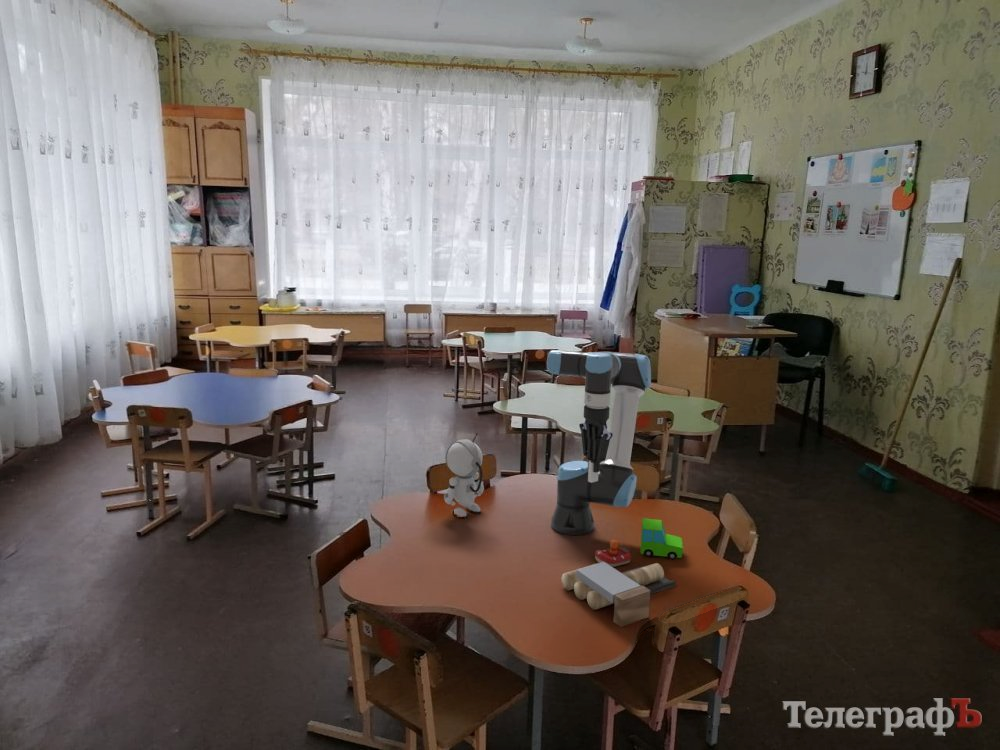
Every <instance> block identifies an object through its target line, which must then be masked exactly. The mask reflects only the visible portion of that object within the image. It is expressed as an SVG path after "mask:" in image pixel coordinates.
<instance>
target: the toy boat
mask: <svg viewBox="0 0 1000 750" xmlns="http://www.w3.org/2000/svg"><path fill="white" fill-rule="evenodd" d="M594 558H595V561H596V563H601V562H605V563H607V564H608V565H610V566H611V567H613V568H614V567H619V566H622V565H623V566H624V565H627V564H629V563H630V562H631V560H632V556H631V551H629V550H628V549H627V548H625V547H619V542H618V540H615V539H612V540H611V541H610V548H607V549H603V550H602V549H601V550H600V549H597V550H596V551H595V554H594Z"/></svg>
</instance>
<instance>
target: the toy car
mask: <svg viewBox="0 0 1000 750" xmlns="http://www.w3.org/2000/svg"><path fill="white" fill-rule="evenodd" d="M641 520H642V521H641V534H640V535H641V536H640V537H641V538H640V555H643V556H644V557H645V558H649V559H650V558H652V557H653V556H657V557H667V559H669V561H675V560H677V559H679V558H680V559H682V558H683V553H684V546H683V543H684V542H683V538H682V537H680V536H677V535H673V534H668V533H666V530H665V527H664V524H663V522H662V519H653V518H652V519H651V518H642V519H641Z"/></svg>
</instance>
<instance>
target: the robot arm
mask: <svg viewBox="0 0 1000 750" xmlns="http://www.w3.org/2000/svg"><path fill="white" fill-rule="evenodd" d="M651 367H652V365H651V361H650V358H649V357H648V356H647V355H645V354H638V353H631V352H630V353H629V352H628V353H627V352H617V351H615V352H614V351H607V350H606V351H595V352H594V351H593V352H592V351H588V352H580V351H579V352H578V351H568V350H561V349H559V350H558V349H557V350H556V349H552V350H550V351H549V352H548V354H547V359H546V369H547V372H548V373H549V374H552V375H553V374H554V375H558V376H569V377H571V376H572V377H579V378H583V379H584V401H583V403H584V404H585V405H584V406H583V418H584V422H582V423H579V424H578V425H579V430H580V435H581V443H582V455H583V456H584V457H586V458H587V461H585V460H572V461H568V462H564V463H562V464H561V465H560V466H559V467H558V472H557V477H556V479H557V485H556V486H557V488H556V506H555V508H554V511H553V514H552V516H551V519H550V520H551V521H550V526H551V529H553V530H554V531H556V532H558V533H561V534H564V535H569V536H582V535H587V534H589V533H591V532H593V530H594V529H595V528H594V527H595V520H594V516H593V513H592V510H591V509H592V508H591V503H592V504H600V505H605V506H609V507H614V508H616V507H618V508H627V507H628V506H629V505H630V504H631V502H632V500H633V497H634V495H635V491H636V487H637V481H638V480H637V479H638V477H637V475H636V474H635V473H634V468H633V467H632V466H631V457H632V449H633V443H634V436H635V431H636V423H637V416H638V411H639V409H638V408H639V401H640V398H641V396H643V395H645V392H646V391H645V390H646V389H647V390H648V389H650V388H651V384H652V368H651ZM611 390H612V391H613V393H614V399H613V404H612V411H611V410H610V409H611V408H610V406H611ZM610 411H611V417H610ZM609 418H610V425H609V430H608V424H607V421H608V420H609Z"/></svg>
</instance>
